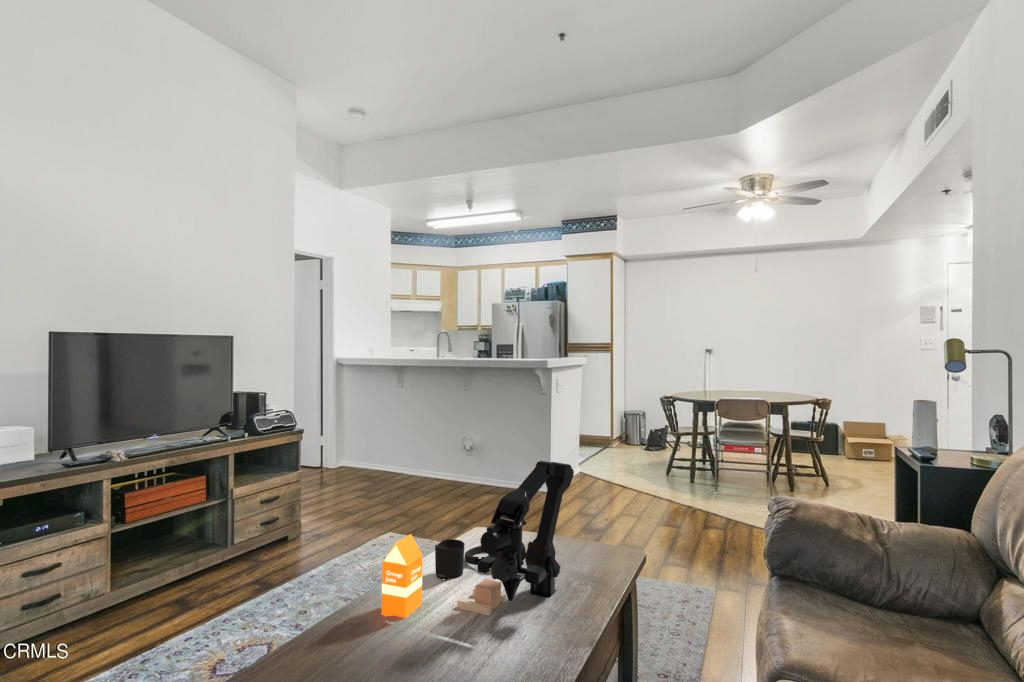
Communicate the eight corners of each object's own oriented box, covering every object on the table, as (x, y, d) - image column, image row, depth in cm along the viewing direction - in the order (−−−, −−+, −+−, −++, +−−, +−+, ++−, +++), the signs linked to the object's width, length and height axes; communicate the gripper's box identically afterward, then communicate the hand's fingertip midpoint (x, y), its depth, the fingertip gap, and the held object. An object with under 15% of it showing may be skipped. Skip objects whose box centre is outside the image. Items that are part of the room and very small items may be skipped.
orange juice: (380, 615, 153) (382, 541, 154) (398, 601, 162) (399, 531, 162) (406, 620, 151) (407, 545, 151) (422, 606, 159) (423, 535, 159)
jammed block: (500, 603, 160) (501, 582, 161) (490, 611, 155) (491, 590, 155) (485, 599, 163) (485, 578, 163) (474, 607, 157) (475, 586, 157)
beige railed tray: (507, 601, 163) (507, 593, 163) (486, 619, 152) (487, 609, 152) (454, 588, 171) (454, 580, 171) (431, 604, 160) (431, 595, 160)
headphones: (500, 551, 182) (454, 548, 193) (503, 575, 181) (456, 570, 192) (529, 537, 195) (484, 535, 207) (532, 559, 195) (487, 556, 206)
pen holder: (431, 572, 184) (431, 541, 184) (458, 568, 187) (459, 537, 188) (439, 583, 175) (439, 550, 175) (467, 578, 179) (468, 547, 179)
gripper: (467, 547, 153) (466, 605, 153) (530, 559, 145) (529, 620, 144) (487, 535, 163) (486, 589, 163) (547, 546, 155) (546, 603, 154)
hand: (510, 600), depth 156 cm, fingers closed
